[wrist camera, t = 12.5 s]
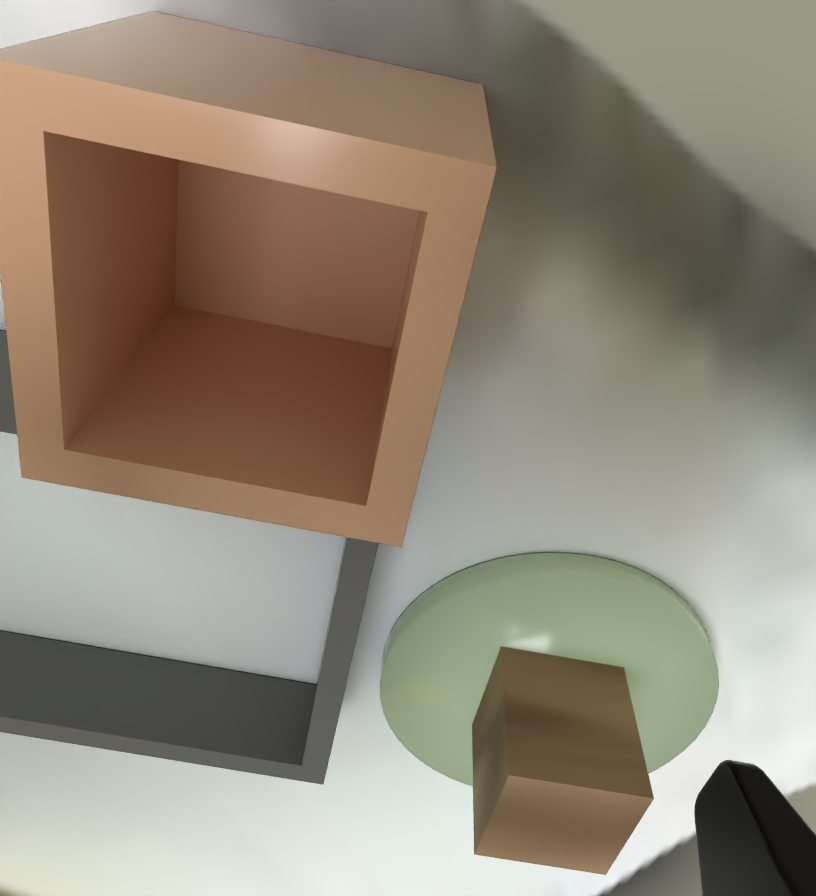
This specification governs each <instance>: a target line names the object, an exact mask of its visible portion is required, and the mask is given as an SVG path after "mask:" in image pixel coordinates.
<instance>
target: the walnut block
mask: <svg viewBox="0 0 816 896" xmlns="http://www.w3.org/2000/svg"><path fill="white" fill-rule="evenodd" d="M472 756H473V810H474V854H475V855H481V856H488V857H494V858H501V859H507V860H514V861H520V862H527V863H533V864H540V865H546V866H553V867H559V868H565V869H572V870H578V871H585V872H591V873H598V874H604V875H606V874H607V872H608V870H609V869H610V867H611V866H612V864H613V862H614V861H615V859H616V858H617V856H618V855H619V853H620V851H621V850H622V848H623V847H624V845H625V843H626V842H627V840H628V839H629V837H630V835H631V834H632V832H633V831H634V829H635V828H636V826H637V824H638V823H639V821H640V820H641V818H642V816H643V815H644V813H645V812H646V810H647V808H648V807H649V805H650V804H651V802H652V801H653V799H654V797H653V793H652V789H651V784H650V780H649V775H648V771H647V767H646V762H645V758H644V753H643V749H642V745H641V740H640V736H639V731H638V727H637V723H636V718H635V714H634V710H633V705H632V701H631V696H630V692H629V688H628V683H627V679H626V674H625V670H624V667H619V666H614V665H608V664H602V663H596V662H590V661H584V660H578V659H573V658H567V657H561V656H555V655H549V654H543V653H537V652H532V651H526V650H520V649H514V648H508V647H502V646H501V647H500V650H499V653H498V656H497V658H496V661H495V664H494V666H493V669H492V672H491V675H490V677H489V680H488V683H487V685H486V688H485V691H484V694H483V696H482V699H481V702H480V704H479V707H478V710H477V713H476V715H475V718H474V721H473V723H472Z"/></svg>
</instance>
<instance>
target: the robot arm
mask: <svg viewBox="0 0 816 896" xmlns="http://www.w3.org/2000/svg"><path fill="white" fill-rule="evenodd" d="M694 813H695V825H696V836H697V846H698V856H699V867H700V877H701V887H702V896H816V834H815V833H814V832H813V831H812V830H811V828H810V827H809V826H808V825H807V824H806V822H805V821H804V820H803V819H802V817H801V816H800V815H799V814H798V813H797V811H796V810H795V809H794V808H793V807H792V806H791V804H790V803H789V802H788V800H787V799H786V798H785V797H784V796H783V794H782V793H781V792H780V791H779V790H778V788H777V787H776V786H775V785H774V784H773V782H772V781H771V780H770V779H769V777H768V776H767V775H766V774H765V773H764V772H763V771H762V770H761V769H760V768H759V767H757V766H756V765H753V764H750V763H744V762H738V761H732V760H726V761H723V762H721V763H720V764H719V765H718V767H717V768H716V770H715V771H714V773H713V774H712V775H711V777H710V778H709V780H708V781H707V783H706V784H705V785H704V787H703V788H702V790H701V791H700V793H699V794H698V796H697V799H696V803H695V812H694Z"/></svg>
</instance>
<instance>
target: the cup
mask: <svg viewBox="0 0 816 896" xmlns="http://www.w3.org/2000/svg"><path fill="white" fill-rule="evenodd" d="M496 169H497V165H496V159H495V153H494V147H493V141H492V136H491V130H490V124H489V118H488V112H487V106H486V100H485V95H484V89H483V85H482V84H478V83H473V82H469V81H464V80H460V79H455V78H451V77H446V76H442V75H437V74H433V73H428V72H424V71H419V70H415V69H411V68H406V67H402V66H397V65H393V64H388V63H384V62H379V61H375V60H370V59H366V58H361V57H357V56H352V55H348V54H343V53H339V52H334V51H330V50H325V49H321V48H316V47H312V46H307V45H303V44H299V43H294V42H290V41H285V40H281V39H276V38H272V37H267V36H263V35H258V34H254V33H249V32H245V31H240V30H236V29H231V28H227V27H222V26H218V25H213V24H209V23H204V22H200V21H195V20H191V19H186V18H182V17H178V16H173V15H169V14H164V13H160V12H155V11H150V12H146V13H142V14H138V15H134V16H130V17H126V18H122V19H118V20H114V21H110V22H106V23H102V24H98V25H94V26H90V27H86V28H82V29H78V30H74V31H70V32H66V33H62V34H58V35H54V36H50V37H46V38H42V39H38V40H34V41H30V42H26V43H22V44H18V45H14V46H10V47H6V48H2V49H0V274H1V284H2V293H3V303H4V313H5V322H6V332H7V341H8V351H9V360H10V370H11V379H12V389H13V399H14V408H15V418H16V427H17V437H18V446H19V456H20V465H21V475H22V477H23V478H28V479H33V480H39V481H44V482H50V483H55V484H61V485H66V486H72V487H77V488H82V489H88V490H93V491H99V492H104V493H110V494H115V495H121V496H126V497H131V498H137V499H142V500H148V501H153V502H159V503H164V504H170V505H175V506H180V507H186V508H191V509H197V510H202V511H208V512H213V513H218V514H224V515H229V516H235V517H240V518H246V519H251V520H257V521H262V522H267V523H273V524H278V525H284V526H289V527H295V528H300V529H306V530H311V531H316V532H322V533H327V534H333V535H338V536H344V537H349V538H355V539H360V540H365V541H371V542H376V543H382V544H387V545H393V546H398V547H402V543H403V539H404V535H405V531H406V527H407V523H408V519H409V515H410V511H411V507H412V503H413V499H414V495H415V491H416V487H417V483H418V479H419V475H420V471H421V467H422V463H423V459H424V455H425V451H426V447H427V443H428V439H429V435H430V431H431V427H432V423H433V420H434V416H435V412H436V408H437V404H438V400H439V396H440V392H441V388H442V384H443V380H444V376H445V372H446V368H447V364H448V360H449V356H450V352H451V348H452V344H453V340H454V336H455V332H456V328H457V324H458V320H459V316H460V312H461V308H462V304H463V300H464V296H465V292H466V288H467V284H468V280H469V276H470V272H471V268H472V264H473V260H474V256H475V252H476V248H477V244H478V240H479V236H480V232H481V228H482V224H483V220H484V216H485V212H486V208H487V204H488V200H489V196H490V192H491V189H492V185H493V181H494V177H495V173H496Z"/></svg>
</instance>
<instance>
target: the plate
mask: <svg viewBox="0 0 816 896" xmlns="http://www.w3.org/2000/svg"><path fill="white" fill-rule="evenodd" d="M501 646H502V647H508V648H514V649H520V650H526V651H532V652H537V653H543V654H549V655H555V656H561V657H567V658H573V659H578V660H584V661H590V662H596V663H602V664H608V665H614V666H619V667H624V670H625V674H626V679H627V683H628V688H629V692H630V696H631V701H632V705H633V710H634V714H635V718H636V723H637V727H638V731H639V736H640V740H641V745H642V749H643V753H644V758H645V762H646V767H647V771H648V774H649V773H651V772H653V771H655V770H656V769H658V768H660V767H661V766H663V765H665V764H666V763H668V762H670V761H671V760H672V759H674V758H675V757H676V756H678V755H679V754H680V753H681V752H683V751H684V750H685V749H686V748H687V747H688V746H689V745H690V744H691V743H692V742H693V741H694V740H695V739H696V738H697V736H698V735H699V734H700V733H701V731H702V730H703V729H704V727H705V726H706V724H707V722H708V720H709V718H710V717H711V715H712V713H713V710H714V707H715V704H716V701H717V696H718V688H719V678H718V668H717V665H716V661H715V658H714V655H713V652H712V649H711V646H710V643H709V641H708V638H707V635H706V632H705V630H704V628H703V626H702V624H701V622H700V620H699V618H698V616H697V615H696V613H695V612H694V611H693V610H692V608H691V607H690V606H689V605H688V603H687V602H686V601H685V600H684V599H683V598H682V597H681V596H679V595H678V594H677V593H676V592H675V591H674V590H673V589H671V588H670V587H668V586H667V585H665V584H664V583H663V582H661V581H660V580H658V579H657V578H655V577H653V576H651V575H649V574H647V573H645V572H643V571H641V570H639V569H636V568H633V567H631V566H628V565H625V564H622V563H620V562H616V561H612V560H608V559H604V558H600V557H596V556H588V555H581V554H573V553H533V554H522V555H516V556H510V557H504V558H499V559H495V560H491V561H488V562H484V563H480V564H477V565H475V566H472V567H470V568H467V569H464V570H462V571H459V572H457V573H455V574H453V575H451V576H449V577H447V578H446V579H444V580H442V581H440V582H438V583H437V584H435V585H434V586H432V587H431V588H430V589H428V590H427V591H425V592H424V593H422V594H421V595H420V596H419V597H418V598H417V599H416V600H415V601H414V602H413V603H411V604H410V605H409V606H408V608H407V609H406V610H405V611H404V612H403V614H402V615H401V616H400V617H399V619H398V620H397V622H396V624H395V625H394V627H393V629H392V631H391V632H390V635H389V637H388V640H387V643H386V646H385V650H384V656H383V662H382V672H381V682H380V695H381V703H382V707H383V712H384V715H385V717H386V719H387V721H388V724H389V726H390V728H391V729H392V731H393V732H394V734H395V735H396V737H397V738H398V740H399V741H400V742H401V743H402V744H403V745H404V746H405V747H406V748H407V750H408V751H410V752H411V753H412V754H413V755H414V756H416V757H417V758H418V759H419V760H420V761H422V762H423V763H425V764H426V765H428V766H429V767H431V768H432V769H434V770H436V771H438V772H440V773H441V774H443V775H445V776H447V777H449V778H452V779H454V780H457V781H459V782H462V783H464V784H467V785H470V786H473V756H472V723H473V721H474V718H475V715H476V713H477V710H478V707H479V704H480V702H481V699H482V696H483V694H484V691H485V688H486V685H487V683H488V680H489V677H490V675H491V672H492V669H493V666H494V664H495V661H496V658H497V656H498V653H499V650H500V647H501Z"/></svg>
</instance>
